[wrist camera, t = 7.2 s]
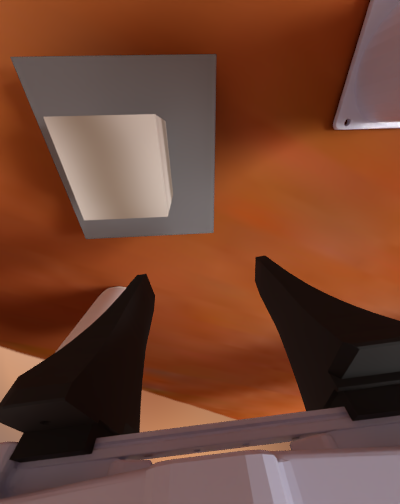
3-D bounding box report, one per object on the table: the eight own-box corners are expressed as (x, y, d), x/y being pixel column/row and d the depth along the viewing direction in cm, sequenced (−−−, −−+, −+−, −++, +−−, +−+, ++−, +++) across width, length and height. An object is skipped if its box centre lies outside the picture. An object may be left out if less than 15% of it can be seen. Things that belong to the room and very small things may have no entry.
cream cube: (165, 121, 13) (154, 114, 8) (173, 194, 15) (167, 216, 11) (91, 123, 12) (42, 116, 8) (112, 196, 15) (84, 220, 11)
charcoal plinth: (210, 69, 13) (216, 54, 11) (210, 220, 20) (213, 232, 17) (44, 72, 13) (10, 56, 11) (99, 225, 20) (86, 238, 17)
